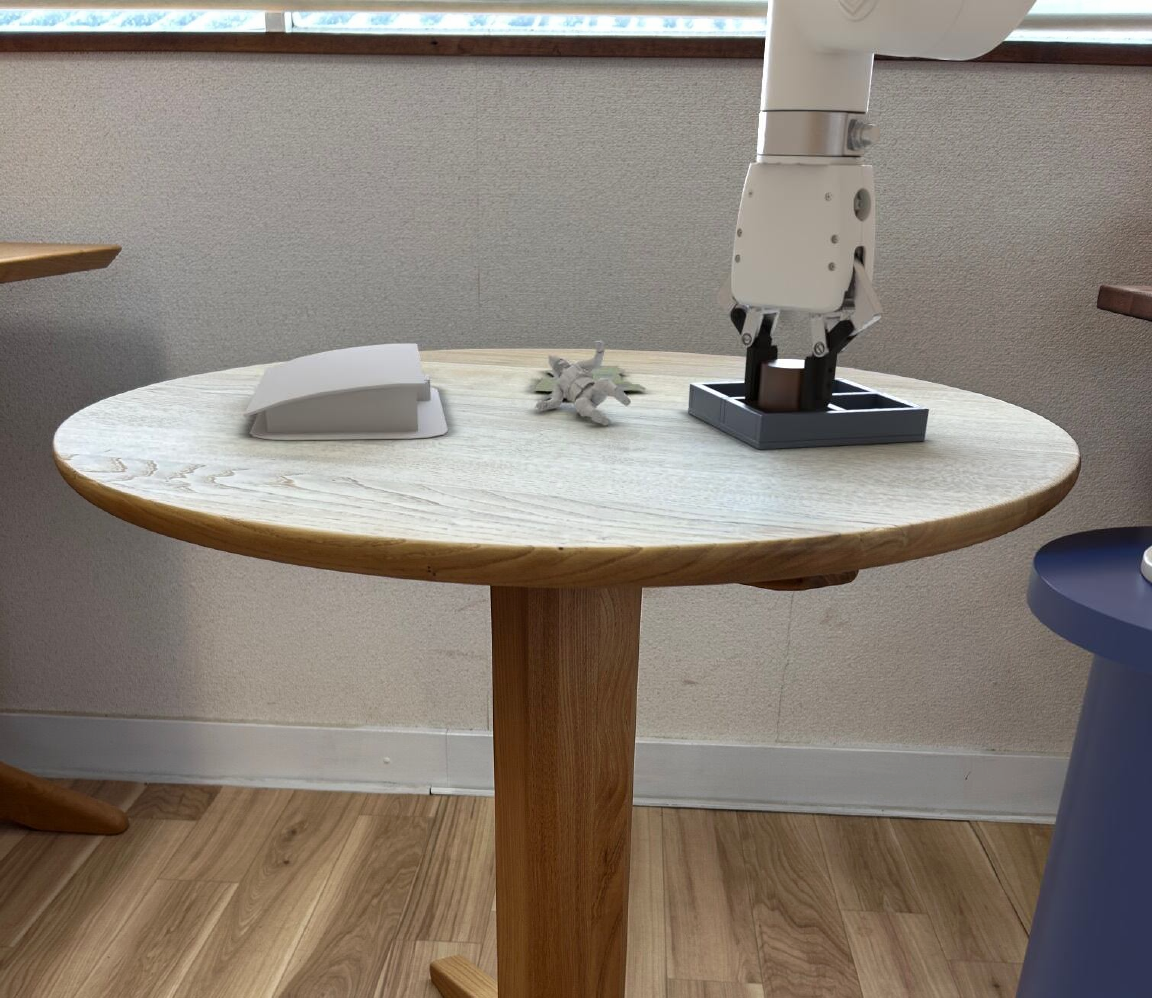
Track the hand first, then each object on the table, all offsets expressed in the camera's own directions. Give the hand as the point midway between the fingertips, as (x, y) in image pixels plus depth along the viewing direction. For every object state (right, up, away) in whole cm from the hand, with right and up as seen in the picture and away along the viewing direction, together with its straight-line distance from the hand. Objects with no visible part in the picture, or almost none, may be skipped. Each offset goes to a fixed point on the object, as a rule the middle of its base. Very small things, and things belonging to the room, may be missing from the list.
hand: (786, 401), depth 96 cm
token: (0, 0, 0) cm, 0 cm away
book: (-35, +1, +8) cm, 36 cm away
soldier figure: (-16, +1, +9) cm, 18 cm away
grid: (+2, -1, +5) cm, 6 cm away
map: (-15, +8, +21) cm, 27 cm away
